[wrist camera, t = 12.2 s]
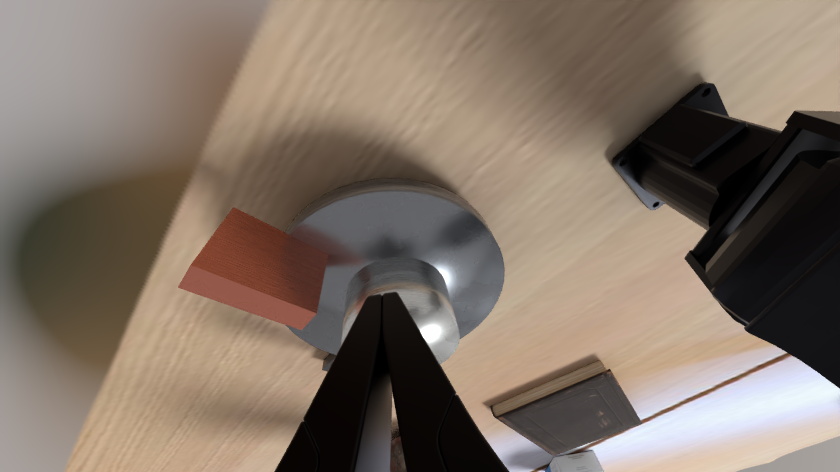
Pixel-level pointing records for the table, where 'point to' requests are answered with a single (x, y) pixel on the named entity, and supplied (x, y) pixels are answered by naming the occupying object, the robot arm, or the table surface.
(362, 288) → the cover
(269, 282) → the turntable
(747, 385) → the table surface
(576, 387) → the hardcover book
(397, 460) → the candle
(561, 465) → the ink box
